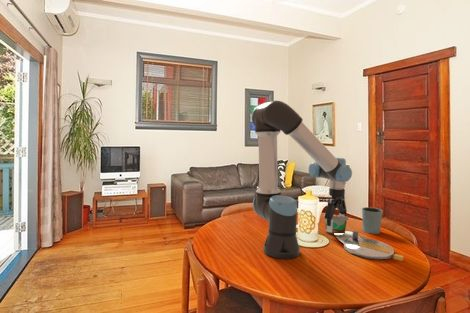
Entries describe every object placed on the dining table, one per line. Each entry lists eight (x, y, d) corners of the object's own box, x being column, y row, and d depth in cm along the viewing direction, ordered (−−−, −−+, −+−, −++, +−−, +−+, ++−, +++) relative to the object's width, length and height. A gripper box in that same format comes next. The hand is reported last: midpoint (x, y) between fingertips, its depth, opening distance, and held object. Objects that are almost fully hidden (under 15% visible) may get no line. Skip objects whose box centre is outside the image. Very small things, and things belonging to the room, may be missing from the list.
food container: (321, 234, 148) (322, 215, 147) (322, 231, 154) (323, 212, 153) (347, 238, 143) (348, 218, 143) (347, 234, 149) (348, 215, 148)
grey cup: (377, 229, 160) (378, 207, 159) (384, 235, 150) (386, 212, 149) (358, 228, 161) (359, 206, 160) (364, 233, 151) (365, 211, 150)
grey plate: (340, 240, 139) (340, 229, 139) (385, 244, 135) (385, 232, 135) (348, 256, 120) (349, 243, 119) (400, 261, 116) (401, 248, 115)
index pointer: (393, 258, 119) (393, 255, 119) (394, 257, 121) (395, 253, 121) (401, 260, 117) (401, 257, 117) (402, 259, 119) (403, 256, 119)
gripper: (332, 192, 136) (331, 236, 137) (354, 186, 153) (352, 225, 155) (318, 190, 141) (316, 232, 142) (340, 184, 159) (339, 222, 160)
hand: (335, 229), depth 148 cm, fingers open, 13 cm apart
